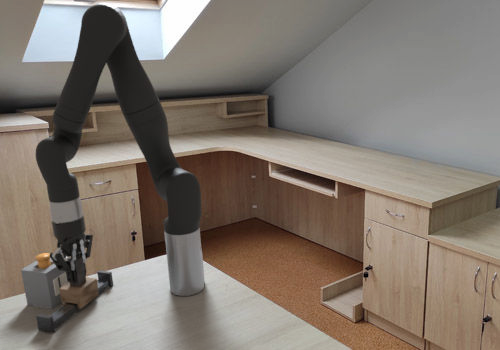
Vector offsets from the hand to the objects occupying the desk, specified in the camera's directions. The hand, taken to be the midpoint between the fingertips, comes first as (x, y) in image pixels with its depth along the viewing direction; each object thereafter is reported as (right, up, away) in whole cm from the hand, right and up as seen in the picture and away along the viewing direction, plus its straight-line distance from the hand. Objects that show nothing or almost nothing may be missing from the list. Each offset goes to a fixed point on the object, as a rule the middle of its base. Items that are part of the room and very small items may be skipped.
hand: (77, 279), depth 121 cm
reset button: (-9, 0, +3) cm, 10 cm away
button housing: (-9, -6, +5) cm, 12 cm away
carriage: (0, -7, +2) cm, 7 cm away
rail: (0, -7, +1) cm, 7 cm away
